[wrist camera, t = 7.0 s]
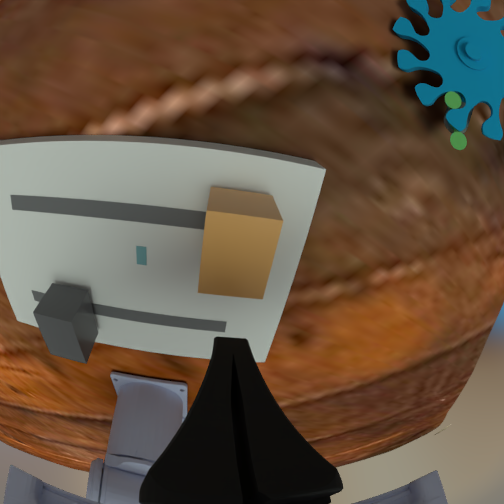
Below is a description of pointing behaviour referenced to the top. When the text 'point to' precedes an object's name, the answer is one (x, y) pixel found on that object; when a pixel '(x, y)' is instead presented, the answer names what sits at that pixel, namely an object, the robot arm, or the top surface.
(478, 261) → the top surface
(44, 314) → the black fader
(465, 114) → the gear
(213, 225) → the tan fader
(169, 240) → the fader panel
